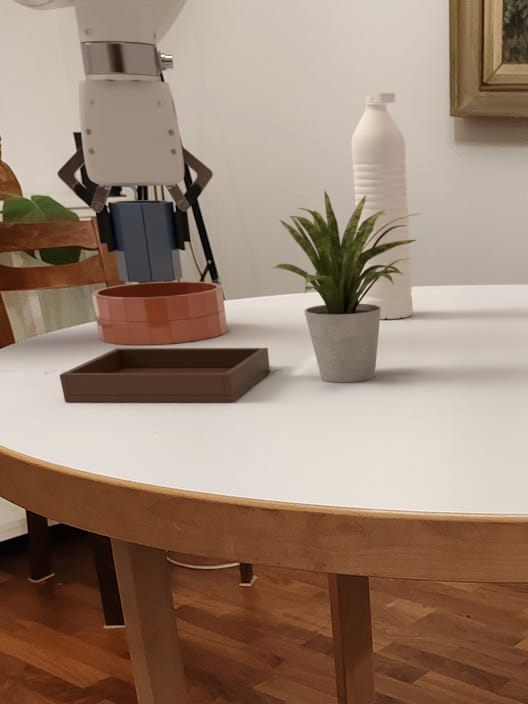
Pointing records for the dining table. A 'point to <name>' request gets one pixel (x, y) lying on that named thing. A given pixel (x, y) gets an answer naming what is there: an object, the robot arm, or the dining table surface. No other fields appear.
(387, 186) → the water bottle
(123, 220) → the cup
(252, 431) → the dining table surface
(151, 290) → the bowl
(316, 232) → the house plant
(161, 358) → the tray
